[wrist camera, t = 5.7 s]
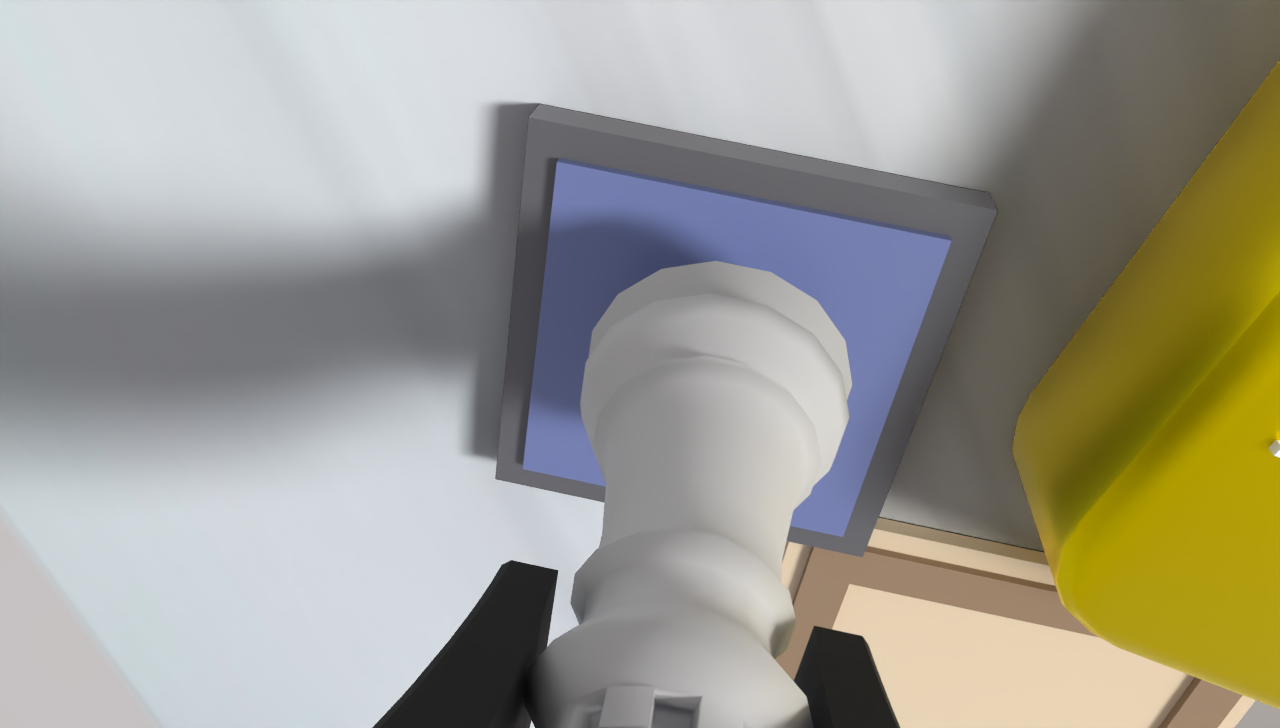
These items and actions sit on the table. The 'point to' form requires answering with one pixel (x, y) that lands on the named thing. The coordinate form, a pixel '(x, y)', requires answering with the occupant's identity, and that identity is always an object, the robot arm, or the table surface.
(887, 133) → the table surface
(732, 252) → the ink pad
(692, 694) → the rook chess piece
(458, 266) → the table surface
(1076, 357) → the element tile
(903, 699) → the mat
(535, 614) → the robot arm
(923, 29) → the table surface
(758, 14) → the table surface
